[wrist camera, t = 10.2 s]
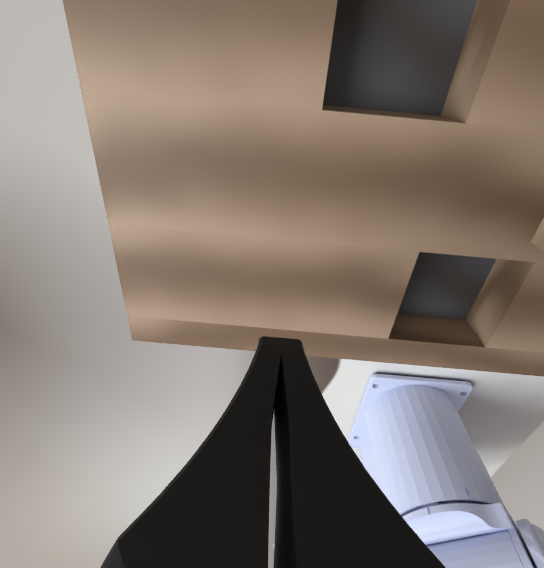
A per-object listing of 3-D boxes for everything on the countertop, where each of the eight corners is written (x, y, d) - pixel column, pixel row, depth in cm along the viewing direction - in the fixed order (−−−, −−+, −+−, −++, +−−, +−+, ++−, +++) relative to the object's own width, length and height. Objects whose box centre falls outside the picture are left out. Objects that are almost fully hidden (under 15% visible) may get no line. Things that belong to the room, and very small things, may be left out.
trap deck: (542, 346, 24) (571, 378, 21) (148, 311, 24) (132, 340, 21) (858, -99, 12) (1010, -145, 9) (71, -176, 12) (13, -242, 9)
